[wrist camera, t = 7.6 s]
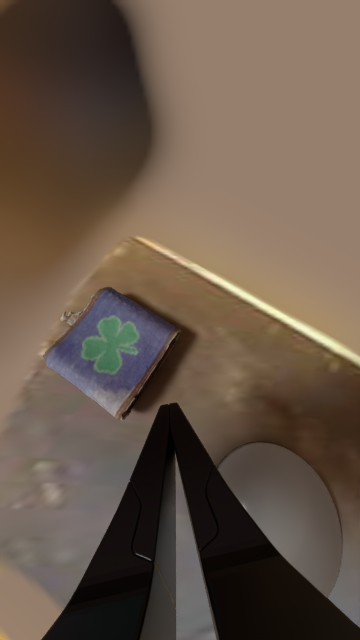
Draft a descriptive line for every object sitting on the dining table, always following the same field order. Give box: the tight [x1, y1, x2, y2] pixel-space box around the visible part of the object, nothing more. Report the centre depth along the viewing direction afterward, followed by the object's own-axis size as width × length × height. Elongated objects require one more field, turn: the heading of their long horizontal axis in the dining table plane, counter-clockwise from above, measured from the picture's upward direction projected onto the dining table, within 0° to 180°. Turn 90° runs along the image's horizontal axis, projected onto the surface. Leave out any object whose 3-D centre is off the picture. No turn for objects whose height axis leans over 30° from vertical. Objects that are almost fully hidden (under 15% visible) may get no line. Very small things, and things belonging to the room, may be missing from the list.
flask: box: [43, 287, 181, 420], centre depth 18 cm, size 9×3×11 cm
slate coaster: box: [217, 442, 342, 598], centre depth 14 cm, size 10×10×1 cm
